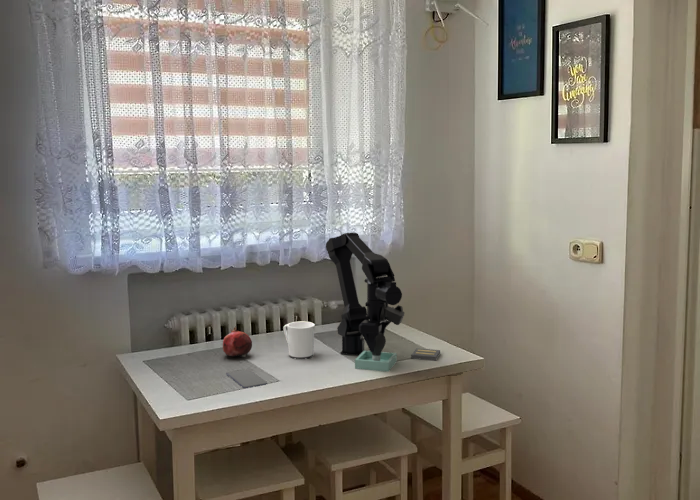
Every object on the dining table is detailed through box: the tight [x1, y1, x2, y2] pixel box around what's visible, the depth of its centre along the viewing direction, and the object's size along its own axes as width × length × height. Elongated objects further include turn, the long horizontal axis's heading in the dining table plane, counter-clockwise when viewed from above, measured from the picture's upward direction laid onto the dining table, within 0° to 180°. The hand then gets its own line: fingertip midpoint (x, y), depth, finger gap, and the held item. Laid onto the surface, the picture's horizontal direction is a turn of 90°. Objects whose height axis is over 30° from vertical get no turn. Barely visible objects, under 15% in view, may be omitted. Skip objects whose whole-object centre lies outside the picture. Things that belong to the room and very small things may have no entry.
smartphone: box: [225, 368, 268, 389], centre depth 216 cm, size 8×1×15 cm
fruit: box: [222, 325, 253, 358], centre depth 238 cm, size 9×10×10 cm
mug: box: [282, 320, 316, 360], centre depth 239 cm, size 11×9×10 cm
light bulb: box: [372, 333, 387, 361], centre depth 229 cm, size 6×6×10 cm
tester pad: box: [410, 347, 441, 361], centre depth 239 cm, size 8×8×1 cm
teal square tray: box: [354, 349, 398, 373], centre depth 229 cm, size 11×11×3 cm
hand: (376, 347), depth 228 cm, fingers open, 9 cm apart
